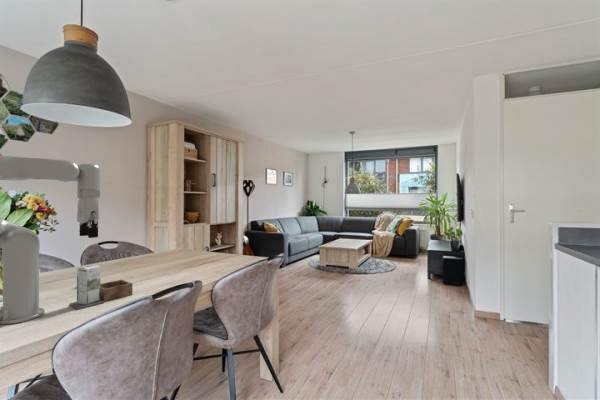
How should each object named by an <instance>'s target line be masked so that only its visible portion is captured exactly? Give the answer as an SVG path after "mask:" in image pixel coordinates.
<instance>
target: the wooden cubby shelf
mask: <svg viewBox="0 0 600 400" xmlns="http://www.w3.org/2000/svg"><path fill="white" fill-rule="evenodd" d="M129 296H133V283H132V282H129V281H127V280H123V279H118V280H112V281H107V282H103V283H100V300H101V301H103V302H104V303H105V302H109V301H112V300H116V299H122V298H126V297H129Z"/></svg>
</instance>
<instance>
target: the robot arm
mask: <svg viewBox="0 0 600 400" xmlns="http://www.w3.org/2000/svg"><path fill="white" fill-rule="evenodd" d="M28 180H54V181H59V182H63V183H66V182H77V184H76V185H77V192H76V193H77V197H76V198H77V199H78V201H77V212H76V213H77V214H76V221H77V222H78V224H79V237H85V236H88V237H87V238H89V239H92V238H93V239H94V238H98V237H99V221H100V216H99V215H100V208H99V199H101V167H100V166H99V165H97V164H92V163H91V164H90V163H81V164H76V163H75V162H73V161H70V160H63V159H56V158H55V159H52V158H41V157H40V158H39V157H38V158H37V157H25V156H11V155H0V181H28ZM0 249H1V252H2V254H1V255H2V257H1V260H2V265H1V266H2V270H1V271H2V306H0V325H9V324H11V325H12V324H17V323H18V324H19V323H22V322H29V321H31V320H34V319H36V318H39V317H41V316H43V315H44V314H45V309H44V308H43V307H40V239H39V237H38V235H37V233H36V232H34V231H33V230H32V229H30V228H27V227H25V226H21V225H19V224H17V223H14V222H11V221H9V220H6V219H3V218H1V217H0Z"/></svg>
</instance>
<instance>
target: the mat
mask: <svg viewBox="0 0 600 400" xmlns="http://www.w3.org/2000/svg"><path fill="white" fill-rule="evenodd" d="M104 303H105V302H104V301H102V300H99V301H96V302H93V303H90V304H87V305H86V304H79V303H77V301H75V302H70V303H69V306H70V307H72V308H73V309H75V310H77V311H78V310H82V309H86V308H90V307H94V306H98V305H103V304H104Z"/></svg>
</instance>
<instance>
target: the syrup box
mask: <svg viewBox="0 0 600 400" xmlns="http://www.w3.org/2000/svg"><path fill="white" fill-rule="evenodd" d="M100 284H101V266H100V265H96V264H89V265H85V266H80V267H76V302H77V303H79V304H86V305H87V304H90V303H93V302H96V301H99V300H100Z"/></svg>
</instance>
